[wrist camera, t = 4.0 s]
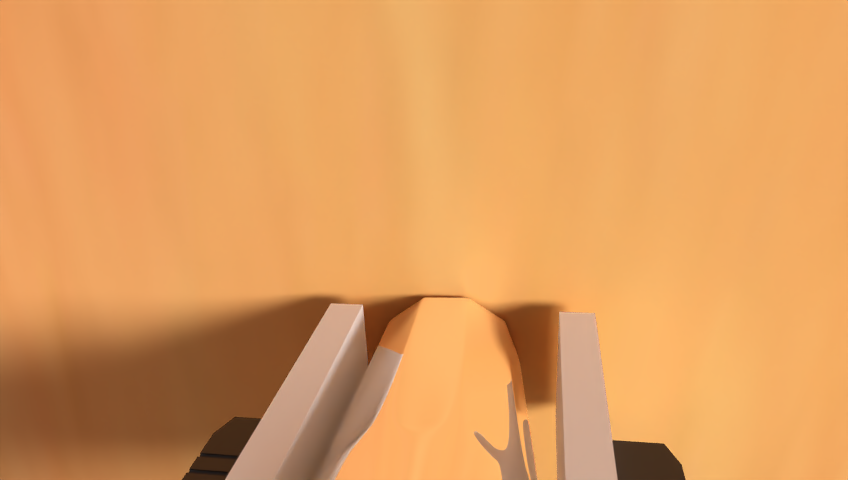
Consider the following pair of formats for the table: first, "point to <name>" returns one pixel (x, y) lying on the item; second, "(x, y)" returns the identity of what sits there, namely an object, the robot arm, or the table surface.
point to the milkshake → (437, 402)
